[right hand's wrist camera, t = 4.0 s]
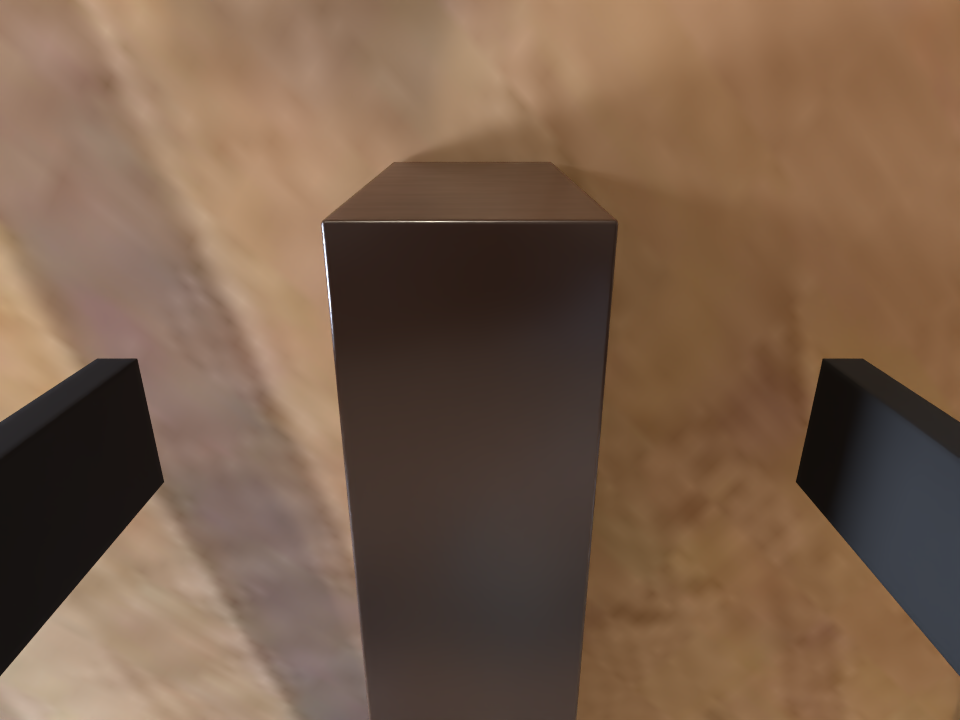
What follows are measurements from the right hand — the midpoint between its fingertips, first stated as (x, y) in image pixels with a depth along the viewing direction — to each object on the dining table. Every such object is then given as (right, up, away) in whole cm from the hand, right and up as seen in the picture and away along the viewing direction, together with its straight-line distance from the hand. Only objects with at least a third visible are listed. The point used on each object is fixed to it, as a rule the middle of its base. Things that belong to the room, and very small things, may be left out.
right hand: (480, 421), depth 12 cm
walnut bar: (0, -6, +8) cm, 10 cm away
